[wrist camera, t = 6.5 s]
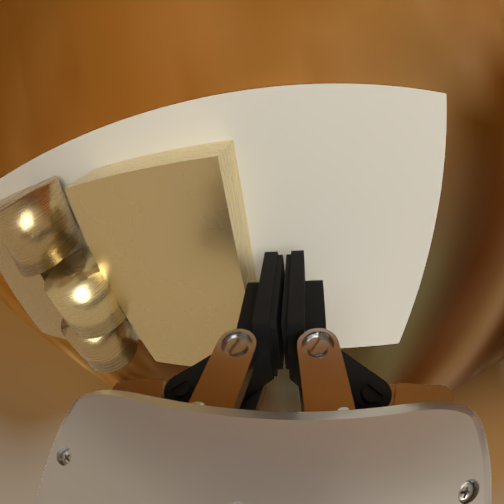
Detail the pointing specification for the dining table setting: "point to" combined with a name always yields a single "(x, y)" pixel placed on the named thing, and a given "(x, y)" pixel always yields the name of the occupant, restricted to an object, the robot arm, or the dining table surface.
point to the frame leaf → (43, 261)
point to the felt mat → (306, 184)
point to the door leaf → (159, 251)
